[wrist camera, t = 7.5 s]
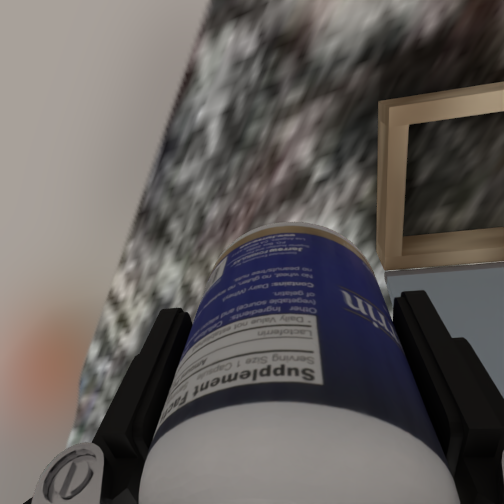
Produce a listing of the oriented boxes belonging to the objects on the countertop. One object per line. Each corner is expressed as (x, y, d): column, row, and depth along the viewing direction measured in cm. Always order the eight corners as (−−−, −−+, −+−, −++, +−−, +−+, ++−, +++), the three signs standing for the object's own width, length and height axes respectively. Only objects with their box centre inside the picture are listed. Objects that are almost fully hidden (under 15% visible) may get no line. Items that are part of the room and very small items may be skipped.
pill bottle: (393, 324, 13) (606, 889, 4) (252, 361, 14) (199, 822, 6) (343, 186, 10) (609, 853, 2) (181, 249, 12) (-89, 755, 3)
